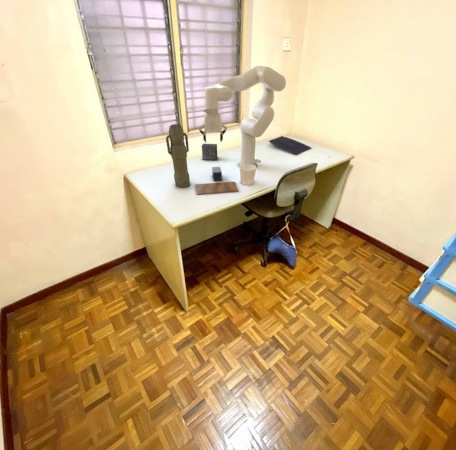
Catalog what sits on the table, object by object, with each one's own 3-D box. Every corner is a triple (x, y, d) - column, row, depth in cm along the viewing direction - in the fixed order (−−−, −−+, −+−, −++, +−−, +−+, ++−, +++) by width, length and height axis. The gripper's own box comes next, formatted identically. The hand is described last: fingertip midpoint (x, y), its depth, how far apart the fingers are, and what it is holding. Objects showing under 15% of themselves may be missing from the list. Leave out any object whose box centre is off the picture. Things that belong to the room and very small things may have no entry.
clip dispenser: (220, 175, 165) (219, 166, 162) (221, 180, 159) (221, 171, 155) (212, 175, 164) (212, 167, 161) (213, 181, 158) (213, 172, 155)
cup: (254, 186, 153) (255, 171, 147) (238, 185, 154) (238, 170, 148) (256, 179, 161) (257, 164, 155) (240, 178, 162) (241, 163, 156)
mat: (234, 182, 157) (234, 181, 157) (238, 191, 147) (238, 190, 147) (196, 185, 153) (195, 184, 153) (197, 194, 144) (197, 193, 143)
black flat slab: (282, 138, 226) (283, 134, 223) (311, 150, 211) (312, 146, 209) (265, 144, 212) (266, 140, 209) (295, 158, 197) (296, 154, 195)
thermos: (170, 184, 153) (161, 125, 133) (187, 179, 159) (181, 121, 139) (177, 190, 148) (168, 129, 127) (194, 184, 154) (189, 125, 133)
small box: (217, 157, 191) (217, 143, 185) (216, 160, 185) (215, 146, 179) (204, 156, 191) (203, 143, 185) (202, 159, 186) (201, 145, 180)
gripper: (197, 113, 139) (199, 143, 149) (228, 112, 142) (228, 142, 152) (196, 110, 145) (198, 139, 155) (226, 109, 148) (226, 139, 158)
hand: (213, 141), depth 154 cm, fingers open, 9 cm apart
